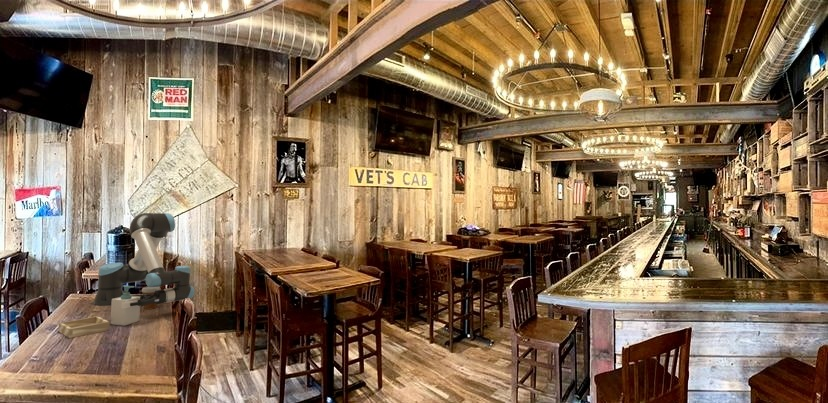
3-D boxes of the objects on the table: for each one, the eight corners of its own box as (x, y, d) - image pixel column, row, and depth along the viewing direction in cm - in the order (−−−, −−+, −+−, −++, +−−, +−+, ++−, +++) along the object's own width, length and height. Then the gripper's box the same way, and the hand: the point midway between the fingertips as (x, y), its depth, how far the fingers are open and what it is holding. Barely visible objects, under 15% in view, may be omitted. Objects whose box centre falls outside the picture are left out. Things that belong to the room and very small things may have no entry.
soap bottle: (124, 325, 197) (126, 288, 197) (110, 324, 199) (112, 286, 199) (139, 321, 205) (141, 284, 205) (125, 319, 207) (127, 283, 207)
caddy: (58, 331, 186) (58, 322, 186) (97, 324, 198) (97, 316, 198) (69, 338, 177) (69, 329, 177) (109, 330, 190) (109, 321, 190)
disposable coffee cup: (152, 310, 226) (153, 289, 226) (136, 309, 226) (137, 288, 226) (163, 306, 235) (164, 286, 235) (148, 305, 235) (149, 285, 236)
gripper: (173, 306, 211) (126, 315, 192) (153, 299, 223) (107, 307, 205) (174, 292, 211) (127, 300, 192) (154, 286, 224) (108, 292, 205)
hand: (117, 303), depth 199 cm, fingers closed on soap bottle, 11 cm apart
